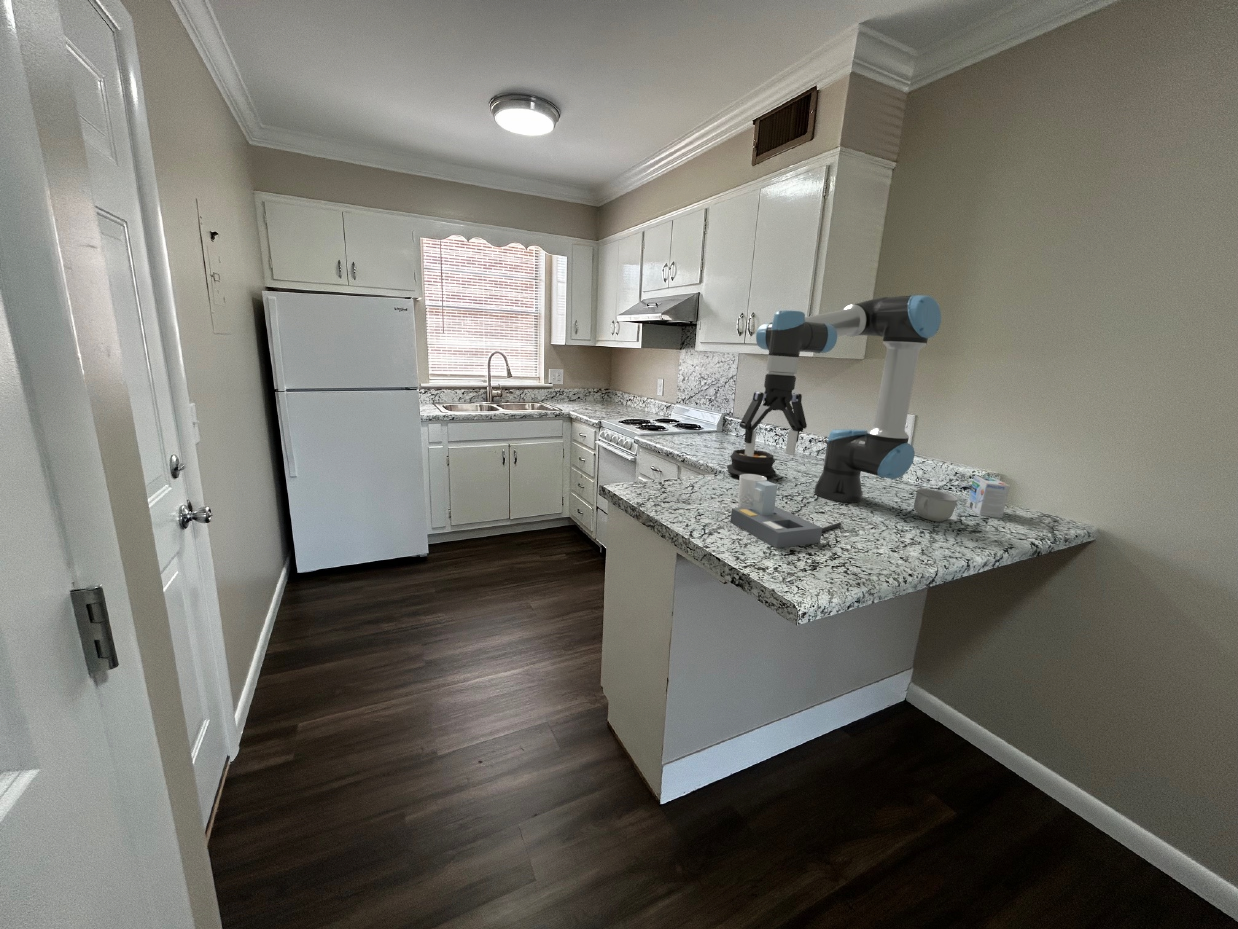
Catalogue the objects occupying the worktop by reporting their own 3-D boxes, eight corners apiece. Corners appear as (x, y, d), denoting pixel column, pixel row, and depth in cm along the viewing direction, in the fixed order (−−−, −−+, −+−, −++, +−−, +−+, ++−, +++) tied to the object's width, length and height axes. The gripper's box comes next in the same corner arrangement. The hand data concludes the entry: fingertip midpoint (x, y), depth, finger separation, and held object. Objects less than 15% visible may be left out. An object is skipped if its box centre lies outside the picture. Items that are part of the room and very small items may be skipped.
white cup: (743, 503, 159) (746, 472, 157) (767, 509, 154) (771, 477, 152) (731, 508, 153) (735, 476, 151) (755, 515, 148) (760, 482, 146)
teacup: (928, 511, 163) (933, 487, 161) (961, 523, 153) (966, 497, 151) (896, 514, 158) (901, 489, 156) (928, 526, 148) (933, 500, 146)
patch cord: (837, 525, 144) (838, 521, 144) (841, 526, 143) (841, 523, 143) (805, 535, 134) (805, 532, 133) (808, 537, 133) (809, 533, 133)
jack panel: (770, 518, 146) (772, 504, 145) (819, 542, 130) (822, 527, 129) (730, 522, 141) (731, 507, 140) (776, 548, 124) (778, 532, 123)
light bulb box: (966, 506, 172) (973, 475, 169) (988, 508, 170) (996, 477, 168) (979, 515, 162) (986, 483, 159) (1003, 518, 160) (1011, 485, 158)
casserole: (764, 485, 183) (767, 462, 181) (715, 475, 192) (718, 453, 190) (783, 473, 204) (786, 452, 202) (738, 464, 213) (740, 445, 211)
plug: (762, 522, 142) (767, 481, 139) (771, 527, 139) (777, 485, 136) (748, 524, 140) (753, 481, 137) (757, 529, 137) (763, 486, 134)
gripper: (807, 374, 138) (796, 451, 143) (732, 370, 128) (722, 452, 133) (828, 376, 132) (816, 456, 137) (750, 372, 122) (739, 459, 127)
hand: (769, 455), depth 135 cm, fingers open, 13 cm apart
